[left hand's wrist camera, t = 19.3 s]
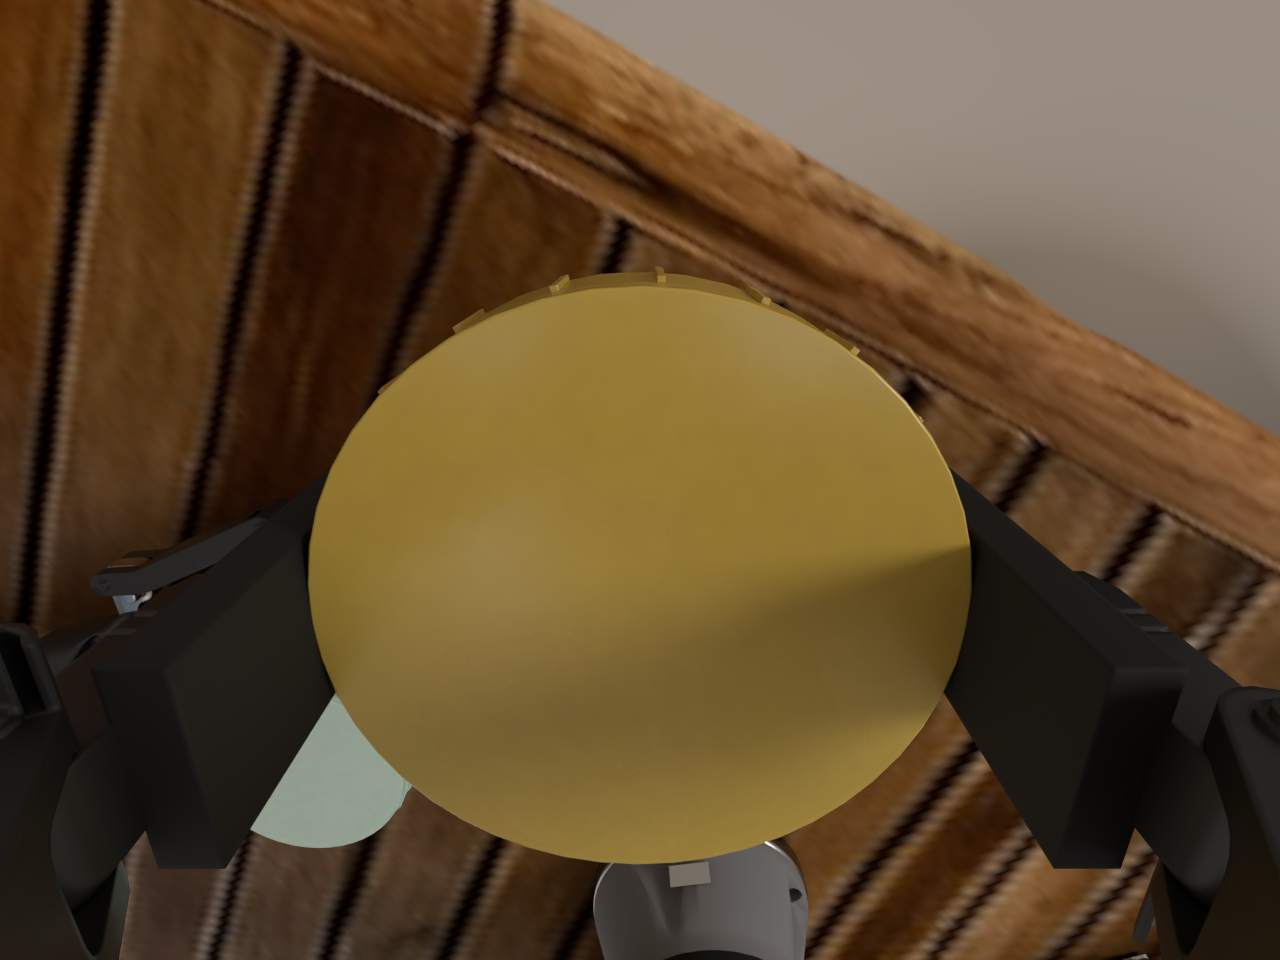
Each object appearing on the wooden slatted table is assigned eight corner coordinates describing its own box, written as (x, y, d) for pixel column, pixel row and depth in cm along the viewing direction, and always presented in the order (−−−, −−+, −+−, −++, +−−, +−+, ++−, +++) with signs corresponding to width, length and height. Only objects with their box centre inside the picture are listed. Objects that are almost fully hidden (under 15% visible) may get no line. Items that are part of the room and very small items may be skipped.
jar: (467, 647, 44) (376, 878, 29) (338, 601, 42) (172, 816, 27) (512, 539, 41) (439, 730, 26) (376, 486, 40) (216, 654, 25)
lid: (769, 135, 10) (802, 115, 8) (999, 648, 13) (1064, 727, 11) (237, 457, 11) (154, 508, 9) (552, 841, 14) (539, 939, 12)
